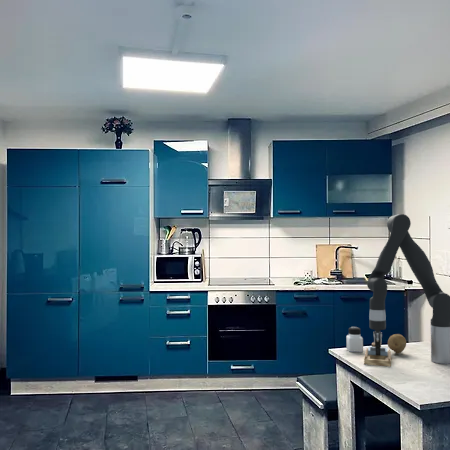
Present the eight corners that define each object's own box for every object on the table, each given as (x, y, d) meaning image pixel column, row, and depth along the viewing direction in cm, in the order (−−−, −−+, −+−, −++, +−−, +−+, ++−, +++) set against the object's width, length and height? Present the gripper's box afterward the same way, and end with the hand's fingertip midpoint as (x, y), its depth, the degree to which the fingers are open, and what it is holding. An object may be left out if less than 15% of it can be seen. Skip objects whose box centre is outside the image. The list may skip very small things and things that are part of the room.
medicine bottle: (363, 351, 253) (363, 328, 253) (349, 351, 253) (349, 328, 253) (359, 348, 260) (359, 326, 260) (346, 348, 260) (346, 326, 260)
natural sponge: (396, 356, 243) (396, 336, 243) (383, 352, 251) (383, 333, 251) (410, 354, 246) (409, 334, 247) (397, 350, 255) (397, 331, 255)
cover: (387, 351, 241) (387, 344, 241) (387, 355, 233) (387, 348, 233) (368, 350, 244) (368, 343, 244) (368, 354, 236) (368, 347, 236)
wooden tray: (390, 356, 243) (390, 349, 243) (391, 366, 225) (390, 358, 225) (365, 354, 247) (365, 347, 247) (364, 364, 229) (364, 357, 229)
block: (381, 351, 253) (381, 343, 253) (381, 353, 249) (380, 344, 249) (372, 351, 255) (372, 342, 255) (371, 353, 250) (371, 344, 251)
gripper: (385, 321, 225) (386, 359, 225) (385, 316, 238) (386, 352, 238) (368, 320, 228) (369, 357, 227) (369, 316, 240) (370, 351, 240)
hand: (378, 355), depth 233 cm, fingers closed
